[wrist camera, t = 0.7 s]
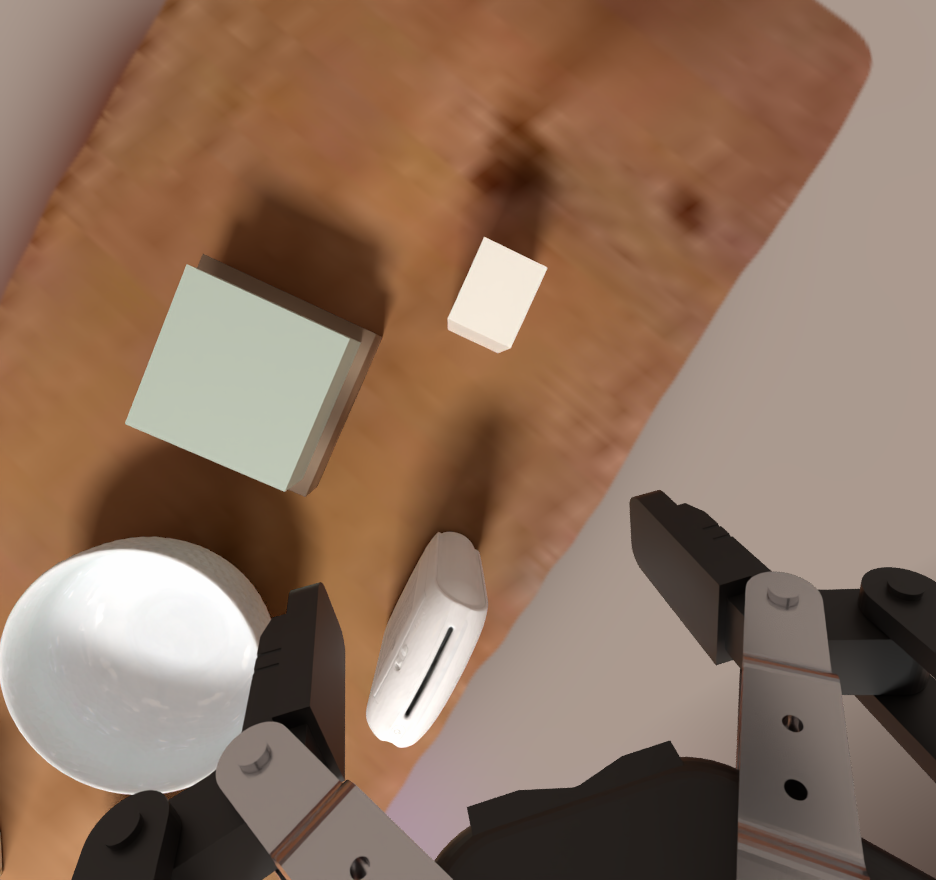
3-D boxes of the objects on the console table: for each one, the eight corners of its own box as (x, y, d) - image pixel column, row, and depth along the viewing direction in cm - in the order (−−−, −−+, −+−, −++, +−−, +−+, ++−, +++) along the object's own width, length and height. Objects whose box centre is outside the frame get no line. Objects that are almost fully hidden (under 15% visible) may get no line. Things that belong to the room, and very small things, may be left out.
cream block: (476, 264, 38) (484, 236, 30) (527, 289, 39) (547, 267, 31) (447, 329, 39) (447, 318, 31) (497, 353, 39) (510, 348, 31)
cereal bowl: (48, 534, 40) (-38, 569, 33) (273, 501, 40) (236, 529, 33) (100, 744, 42) (30, 819, 35) (313, 711, 42) (287, 779, 35)
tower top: (216, 276, 35) (186, 264, 31) (360, 342, 35) (349, 338, 31) (160, 418, 36) (124, 423, 32) (302, 478, 36) (284, 491, 32)
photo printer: (427, 660, 42) (419, 778, 30) (377, 637, 42) (347, 748, 29) (487, 545, 41) (504, 618, 29) (436, 520, 41) (431, 585, 28)
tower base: (228, 265, 38) (202, 253, 34) (383, 337, 39) (376, 334, 35) (167, 418, 40) (135, 423, 36) (319, 484, 41) (305, 496, 37)
